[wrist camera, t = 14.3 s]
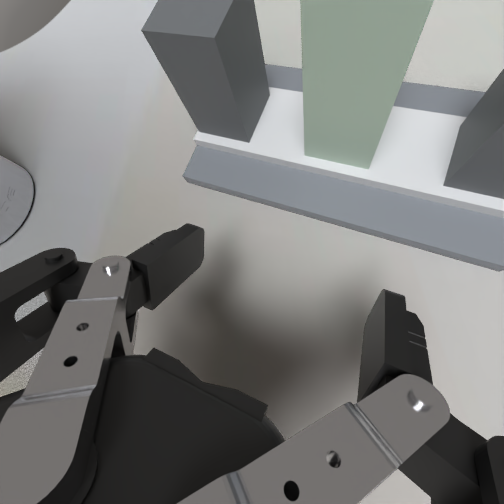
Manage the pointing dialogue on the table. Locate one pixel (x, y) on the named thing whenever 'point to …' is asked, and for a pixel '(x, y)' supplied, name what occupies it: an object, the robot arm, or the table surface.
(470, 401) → the table surface
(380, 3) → the block
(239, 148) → the rail board
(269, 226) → the table surface
